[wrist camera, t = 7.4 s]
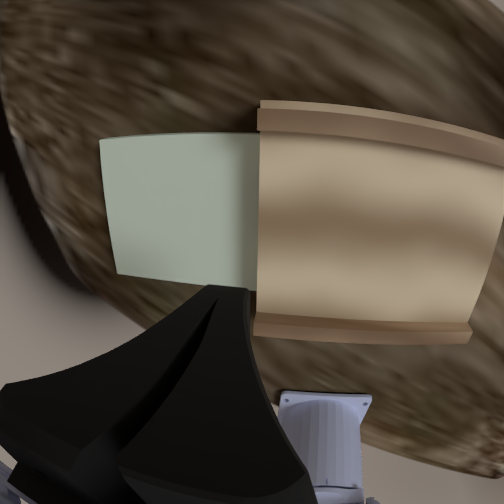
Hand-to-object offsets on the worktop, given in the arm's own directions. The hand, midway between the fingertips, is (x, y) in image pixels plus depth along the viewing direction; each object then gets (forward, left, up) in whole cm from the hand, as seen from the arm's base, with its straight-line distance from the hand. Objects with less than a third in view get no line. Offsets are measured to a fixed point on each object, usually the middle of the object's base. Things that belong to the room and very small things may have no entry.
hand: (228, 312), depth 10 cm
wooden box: (0, -7, -9) cm, 12 cm away
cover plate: (0, +5, -10) cm, 11 cm away
